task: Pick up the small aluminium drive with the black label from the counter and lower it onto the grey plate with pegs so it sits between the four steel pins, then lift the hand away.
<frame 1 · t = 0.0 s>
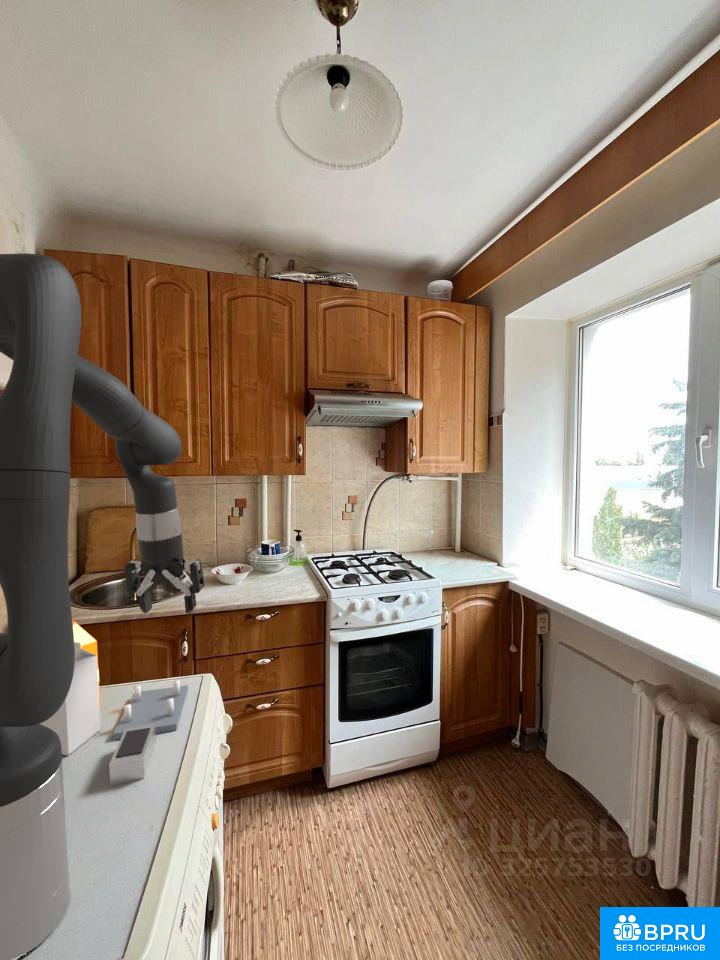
hand: (169, 611, 82), 22 cm above the countertop, tool pointing down, fingers open, 8 cm apart
grey plate with pegs: (154, 712, 86), on the countertop
drive: (134, 763, 72), on the countertop
orange juice: (72, 710, 87), on the countertop
milk carton: (69, 741, 77), on the countertop
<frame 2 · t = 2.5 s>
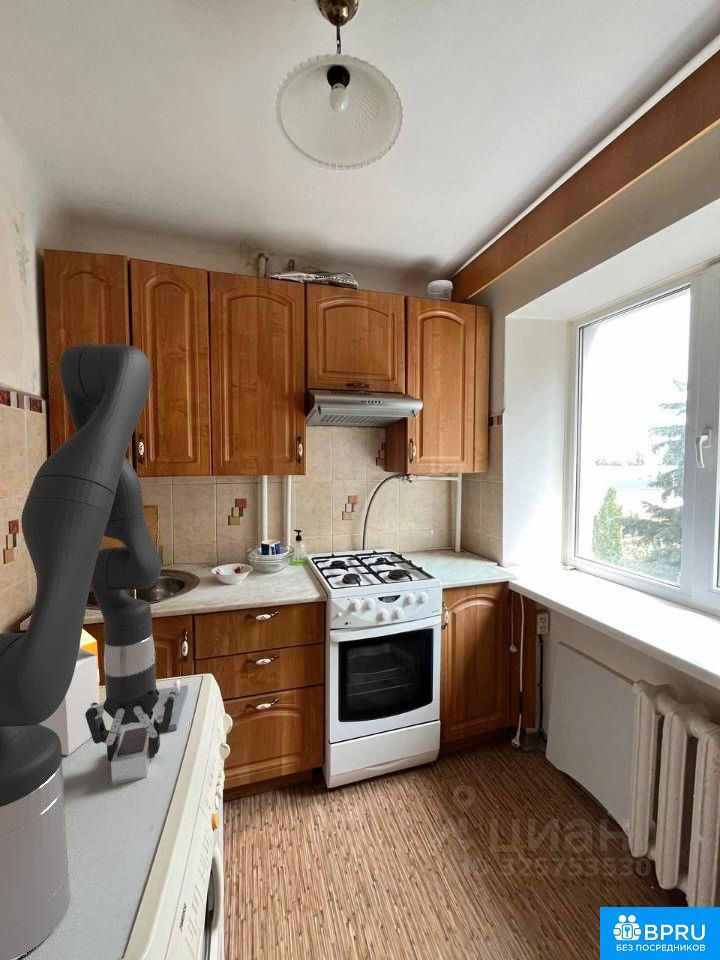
hand: (134, 757, 72), 1 cm above the countertop, tool pointing down, fingers closed on drive, 5 cm apart
drive: (134, 762, 72), on the countertop, touching gripper
everything else where it was.
when the fingers open (3 cm above the countertop, at t = 7.4 s): drive drops 1 cm, resting on grey plate with pegs.
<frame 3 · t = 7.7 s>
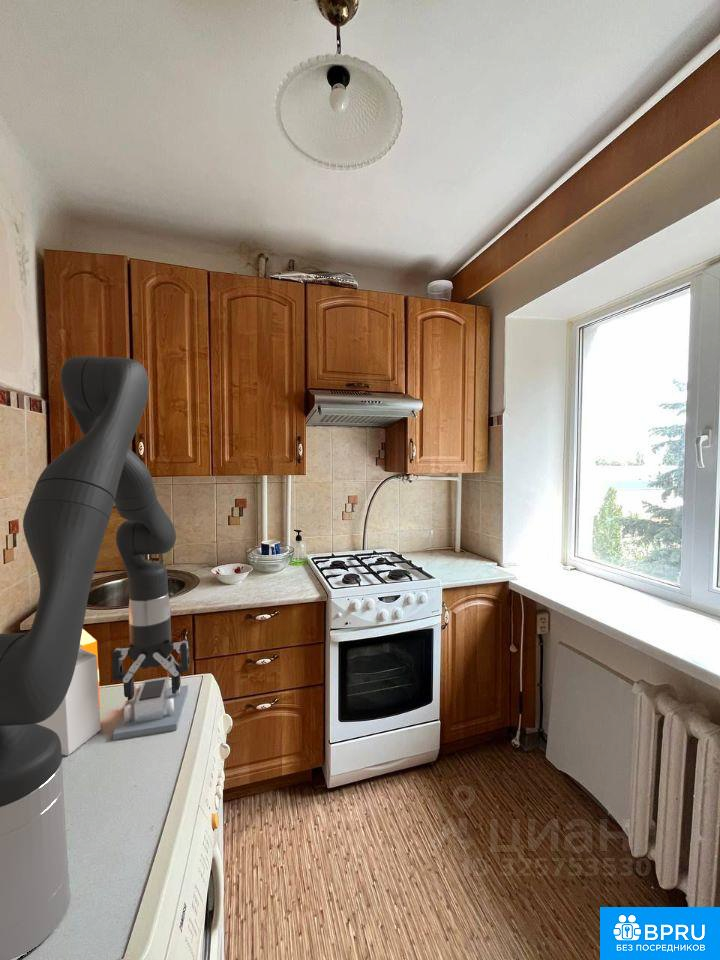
hand: (153, 694, 85), 4 cm above the countertop, tool pointing down, fingers open, 8 cm apart
drive: (153, 707, 85), point 1 cm above the countertop, touching grey plate with pegs
everything else where it was.
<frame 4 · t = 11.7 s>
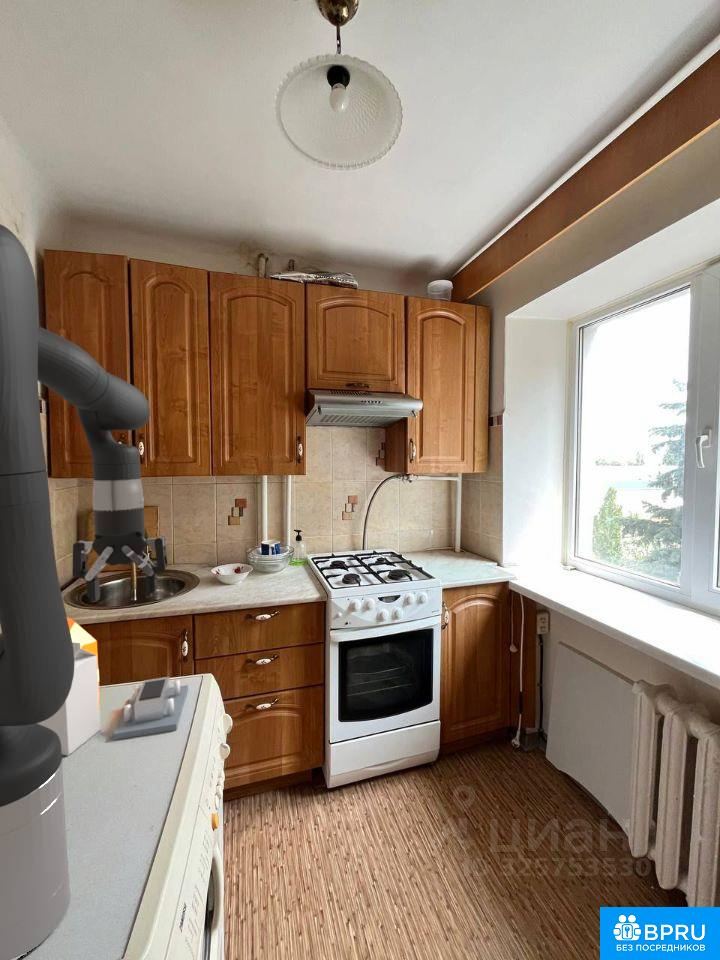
hand: (123, 598, 73), 28 cm above the countertop, tool pointing down, fingers open, 8 cm apart
nothing on the countertop moved.
at the end: drive 0.1 cm off-centre on the grey plate with pegs, point 1.2 cm above the grey plate with pegs's base; drive tilted 0°; the gripper is holding nothing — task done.
